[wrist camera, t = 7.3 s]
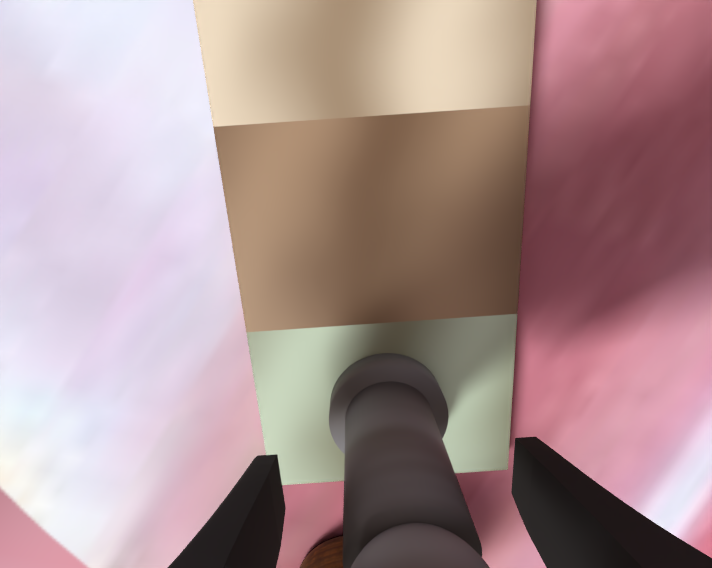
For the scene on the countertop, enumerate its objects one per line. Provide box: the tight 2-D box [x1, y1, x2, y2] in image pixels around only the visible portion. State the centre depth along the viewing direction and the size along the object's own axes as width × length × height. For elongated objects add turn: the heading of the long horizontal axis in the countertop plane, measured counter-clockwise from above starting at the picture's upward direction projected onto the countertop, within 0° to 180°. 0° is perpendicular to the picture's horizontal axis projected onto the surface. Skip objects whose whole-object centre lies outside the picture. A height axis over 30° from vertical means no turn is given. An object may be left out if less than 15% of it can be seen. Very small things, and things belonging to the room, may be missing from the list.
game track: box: [193, 0, 537, 485], centre depth 12 cm, size 10×21×1 cm, turn 4°
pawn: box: [329, 353, 489, 568], centre depth 9 cm, size 4×4×9 cm
